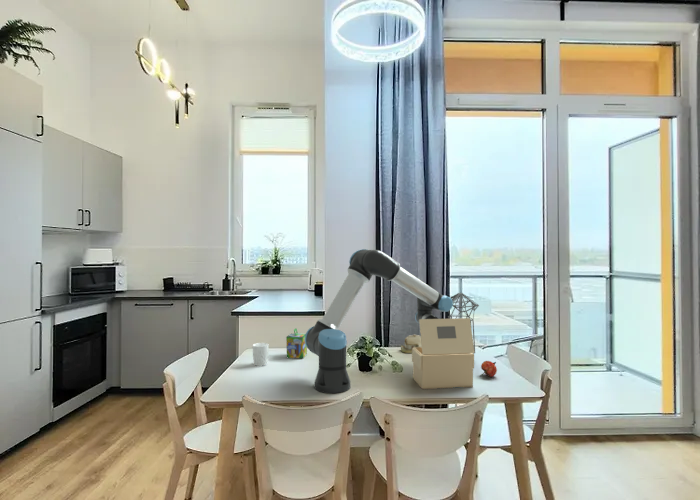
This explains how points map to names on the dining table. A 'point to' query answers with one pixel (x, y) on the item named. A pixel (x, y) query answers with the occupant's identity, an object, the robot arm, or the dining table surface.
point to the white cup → (260, 353)
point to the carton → (442, 369)
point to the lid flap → (446, 336)
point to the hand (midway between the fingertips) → (448, 333)
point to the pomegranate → (489, 368)
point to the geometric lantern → (463, 307)
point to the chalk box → (296, 345)
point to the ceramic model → (411, 343)
